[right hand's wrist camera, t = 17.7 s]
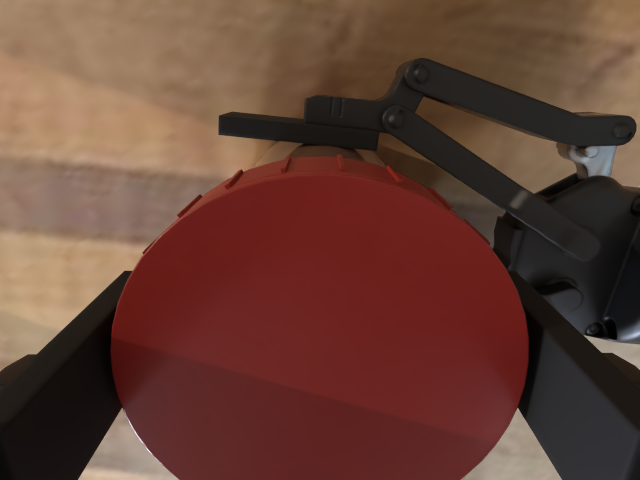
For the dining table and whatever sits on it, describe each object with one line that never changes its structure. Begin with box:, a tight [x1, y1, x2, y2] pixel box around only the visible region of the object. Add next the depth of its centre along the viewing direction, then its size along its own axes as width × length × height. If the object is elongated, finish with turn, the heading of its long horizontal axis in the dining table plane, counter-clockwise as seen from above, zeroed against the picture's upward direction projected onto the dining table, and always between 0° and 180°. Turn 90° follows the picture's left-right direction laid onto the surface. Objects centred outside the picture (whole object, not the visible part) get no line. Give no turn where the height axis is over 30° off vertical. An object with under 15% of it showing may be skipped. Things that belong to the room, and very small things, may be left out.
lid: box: [110, 154, 529, 480], centre depth 11 cm, size 10×10×2 cm
